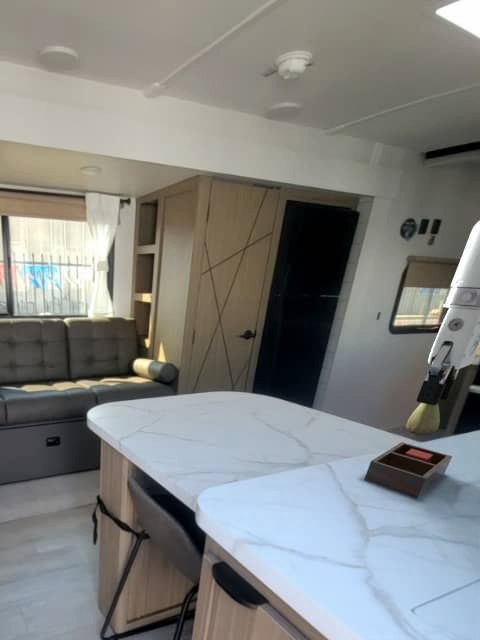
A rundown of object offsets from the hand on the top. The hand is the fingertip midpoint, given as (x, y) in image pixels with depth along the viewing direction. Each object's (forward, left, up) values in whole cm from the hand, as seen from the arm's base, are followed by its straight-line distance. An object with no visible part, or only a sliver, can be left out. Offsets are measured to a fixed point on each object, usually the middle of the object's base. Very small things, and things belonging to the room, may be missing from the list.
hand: (432, 399), depth 78 cm
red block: (-6, -6, -17) cm, 19 cm away
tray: (-3, -3, -18) cm, 18 cm away
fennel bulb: (0, 0, -7) cm, 7 cm away
